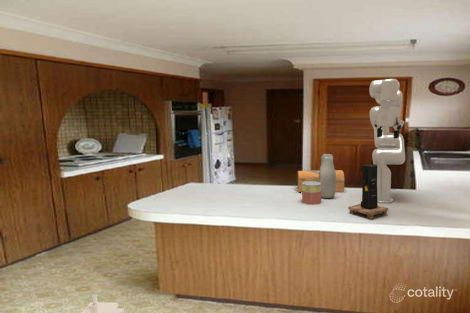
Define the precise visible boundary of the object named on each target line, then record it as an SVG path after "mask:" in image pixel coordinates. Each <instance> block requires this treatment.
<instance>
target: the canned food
mask: <svg viewBox="0 0 470 313" xmlns="http://www.w3.org/2000/svg"><path fill="white" fill-rule="evenodd" d="M301 202H302V203H303V204H304V205H305V204H306V205H310V206H311V205H315V204H316V205H320V204H321V203H322V197H321V183H320V182H316V181H306V182H302V193H301Z"/></svg>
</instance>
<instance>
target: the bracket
mask: <svg viewBox="0 0 470 313" xmlns="http://www.w3.org/2000/svg"><path fill="white" fill-rule="evenodd" d="M91 299H92V302H91V301H90V302H89V304H88V305H86V307H85V308H84V309H83V310H82V311H81V312H80V313H126V312H125V308H119V303H118V302H110V301H109V302H108V301H107V302H103V301H102V302H101V301H100V302H99V301H98V295H97V293H94V294H92V295H91Z"/></svg>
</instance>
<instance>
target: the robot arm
mask: <svg viewBox="0 0 470 313" xmlns="http://www.w3.org/2000/svg"><path fill="white" fill-rule="evenodd" d="M400 87H401V85H400V82H399V80H398V79H396V78H386V79H377V80H372V81H371V82H370V85H369V95H370V97H371V98H372V99H375V101H376V103H377V104H378V105H377V106H373V107H371V109H370V110H369V120H370V123H371V125H372V128H373V134H374V136H373V137H374V138H373V139H374V146H375V147H376V149H374V150H373V151H372V163H373V164H375V165H377V200H378V203H379V204H389V203H393V201H394V198H392V197H391V189H392V188H391V187H392V186H391V184H392V180H391V178H392V172H391V169H390V168H389V167H388V166H387V165H402V164H404V163H405V162H406V151H405V150H406V149H405V139H404V136H403V134H401V133H400V131H401V129H403V127H404V124H405V121H404V120H402V119H401V118H400V117H401V114H402V108H403V92H402V91H401V90H400ZM390 127H392V128H393V129H394V130H393V132H390Z"/></svg>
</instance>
